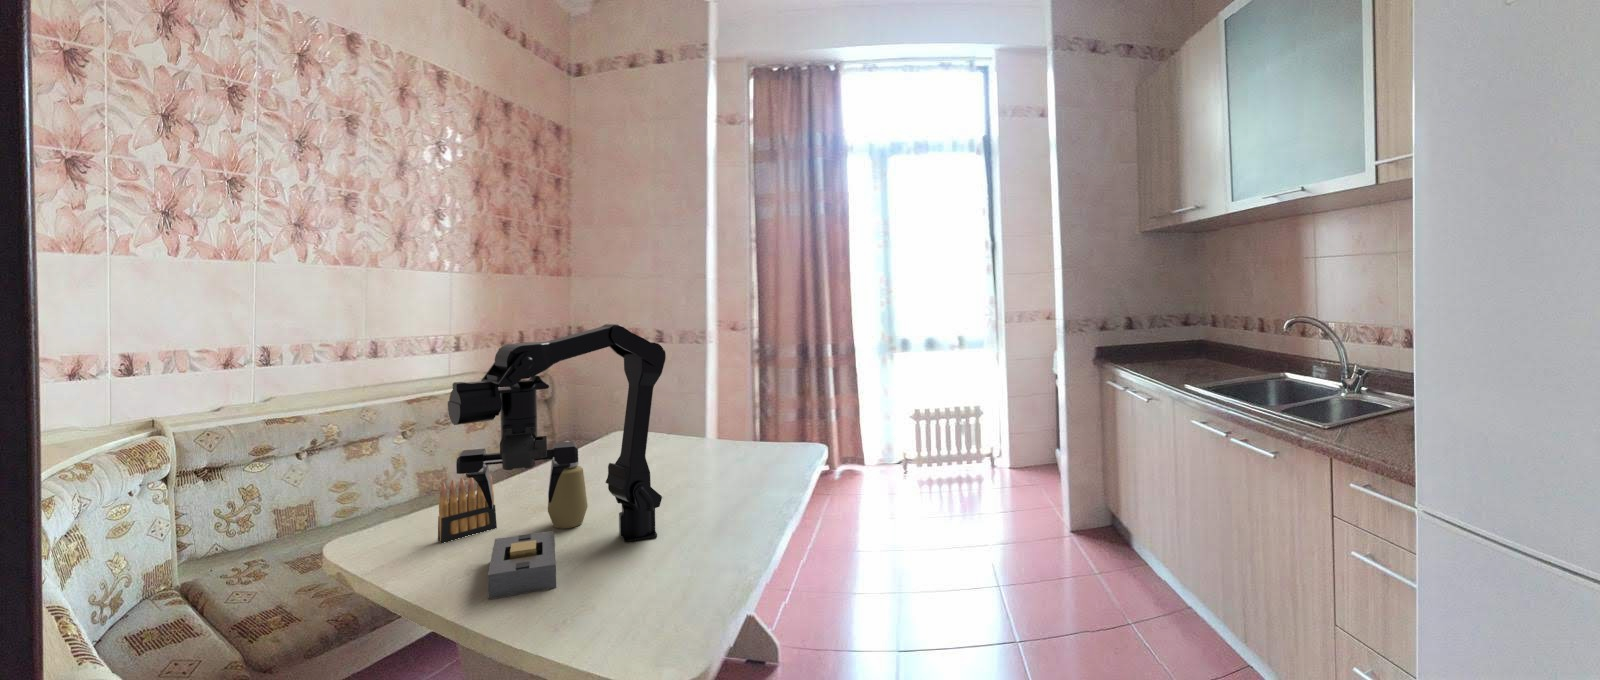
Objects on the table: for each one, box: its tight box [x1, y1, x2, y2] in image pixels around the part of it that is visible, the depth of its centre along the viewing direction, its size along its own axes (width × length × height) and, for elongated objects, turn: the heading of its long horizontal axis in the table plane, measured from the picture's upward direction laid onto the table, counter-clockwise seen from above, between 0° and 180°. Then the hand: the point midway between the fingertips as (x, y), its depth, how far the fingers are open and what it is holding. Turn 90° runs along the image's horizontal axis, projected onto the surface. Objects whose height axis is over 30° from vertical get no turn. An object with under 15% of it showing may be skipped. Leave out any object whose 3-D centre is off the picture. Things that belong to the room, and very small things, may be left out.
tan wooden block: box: [510, 540, 537, 560], centre depth 103 cm, size 4×4×5 cm
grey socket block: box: [487, 530, 557, 601], centre depth 104 cm, size 10×16×4 cm, turn 24°
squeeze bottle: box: [547, 440, 589, 529], centre depth 126 cm, size 8×8×18 cm
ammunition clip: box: [437, 472, 498, 544], centre depth 121 cm, size 11×2×12 cm, turn 141°
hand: (521, 505), depth 103 cm, fingers open, 9 cm apart
